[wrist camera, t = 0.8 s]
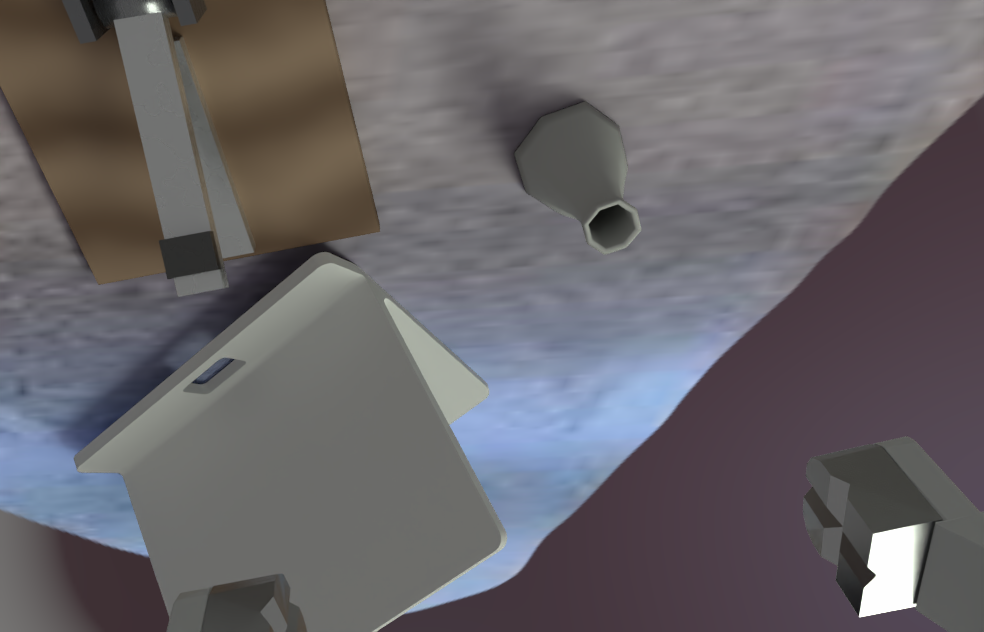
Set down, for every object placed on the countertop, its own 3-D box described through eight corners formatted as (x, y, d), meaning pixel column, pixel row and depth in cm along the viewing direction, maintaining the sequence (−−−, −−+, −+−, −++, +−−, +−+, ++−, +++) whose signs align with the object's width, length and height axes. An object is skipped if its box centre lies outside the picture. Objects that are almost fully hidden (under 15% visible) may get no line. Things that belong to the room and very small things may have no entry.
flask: (493, 149, 50) (520, 219, 42) (588, 79, 48) (636, 137, 40) (554, 228, 54) (590, 307, 45) (644, 165, 52) (699, 235, 44)
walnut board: (-41, -21, 40) (-50, -16, 40) (305, -80, 41) (304, -77, 40) (103, 275, 51) (98, 284, 50) (379, 223, 51) (379, 231, 50)
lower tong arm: (78, -20, 40) (58, -7, 38) (191, -40, 40) (179, -28, 38) (191, 257, 49) (181, 282, 47) (282, 239, 50) (278, 264, 47)
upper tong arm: (105, -7, 41) (87, -20, 38) (174, -19, 41) (160, -33, 39) (176, 297, 42) (162, 300, 40) (242, 284, 42) (232, 286, 40)
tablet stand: (492, 385, 61) (533, 563, 46) (266, 550, 67) (241, 751, 53) (321, 231, 51) (307, 394, 37) (77, 439, 58) (-13, 646, 44)
